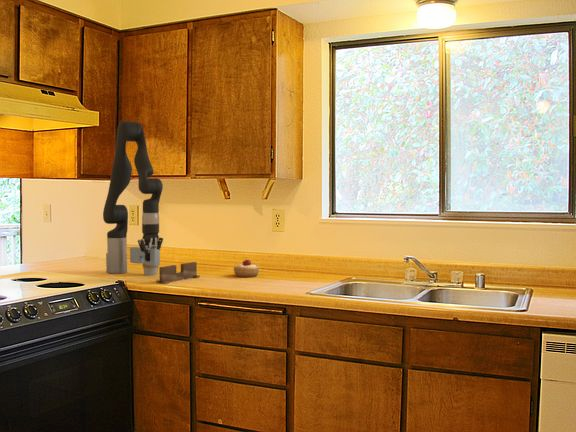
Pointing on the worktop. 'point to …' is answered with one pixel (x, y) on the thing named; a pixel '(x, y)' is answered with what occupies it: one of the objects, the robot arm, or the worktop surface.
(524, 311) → the worktop surface
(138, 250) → the cross bar
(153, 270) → the coffee cup
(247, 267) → the pastry
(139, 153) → the robot arm
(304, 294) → the worktop surface
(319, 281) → the worktop surface
